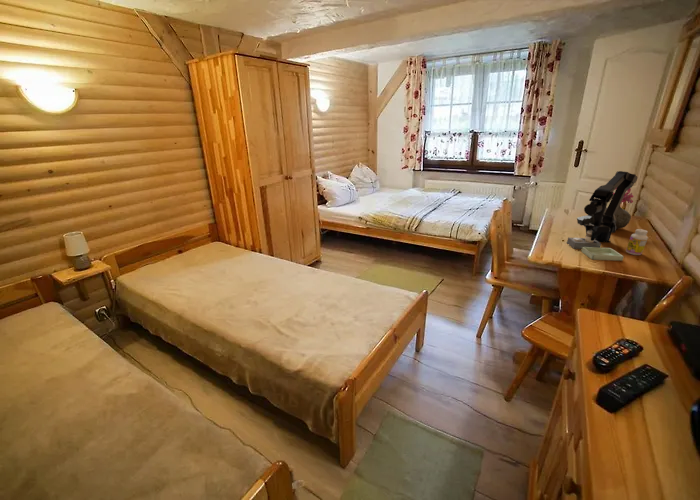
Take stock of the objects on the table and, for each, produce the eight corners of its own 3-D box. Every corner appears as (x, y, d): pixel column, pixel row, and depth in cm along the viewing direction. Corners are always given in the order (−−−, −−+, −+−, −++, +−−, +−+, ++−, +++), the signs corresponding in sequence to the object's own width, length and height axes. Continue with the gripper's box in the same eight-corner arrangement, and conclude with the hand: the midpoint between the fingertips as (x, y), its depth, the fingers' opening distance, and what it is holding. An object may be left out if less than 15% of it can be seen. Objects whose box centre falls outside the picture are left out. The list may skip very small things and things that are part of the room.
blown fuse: (589, 245, 180) (593, 230, 176) (593, 248, 176) (598, 232, 172) (581, 245, 180) (585, 230, 177) (585, 247, 177) (589, 232, 173)
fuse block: (591, 244, 181) (593, 237, 180) (599, 249, 174) (601, 242, 172) (566, 243, 183) (568, 236, 181) (573, 248, 176) (575, 241, 174)
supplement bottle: (622, 250, 172) (630, 228, 167) (634, 250, 172) (643, 228, 167) (631, 255, 166) (640, 232, 161) (644, 255, 166) (653, 232, 161)
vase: (630, 233, 196) (648, 185, 184) (597, 231, 201) (612, 183, 190) (619, 225, 211) (634, 180, 199) (588, 223, 216) (601, 178, 204)
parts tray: (609, 252, 170) (610, 248, 169) (622, 260, 160) (623, 256, 159) (580, 251, 172) (582, 246, 171) (591, 259, 162) (593, 255, 161)
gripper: (572, 206, 180) (566, 232, 186) (591, 216, 163) (582, 244, 169) (594, 207, 178) (586, 233, 184) (615, 217, 161) (605, 245, 167)
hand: (589, 239), depth 176 cm, fingers closed on blown fuse, 4 cm apart
